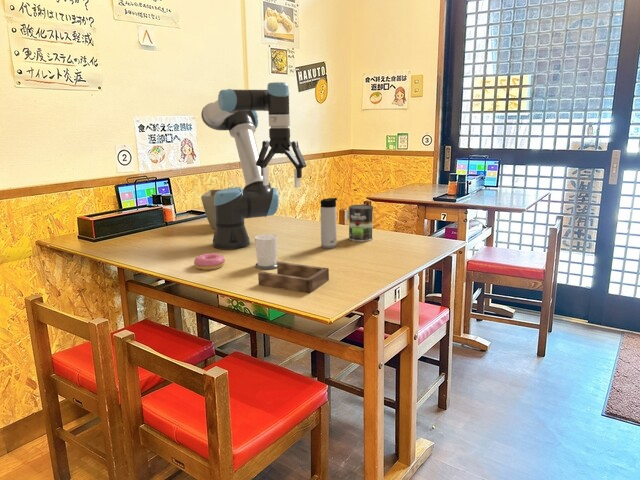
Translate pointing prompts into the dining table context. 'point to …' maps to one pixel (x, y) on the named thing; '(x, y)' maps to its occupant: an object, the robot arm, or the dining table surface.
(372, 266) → the dining table surface
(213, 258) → the doughnut
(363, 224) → the coffee can
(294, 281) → the brown wooden tray
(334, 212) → the travel mug
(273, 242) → the white cup
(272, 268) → the coaster
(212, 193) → the flower pot
